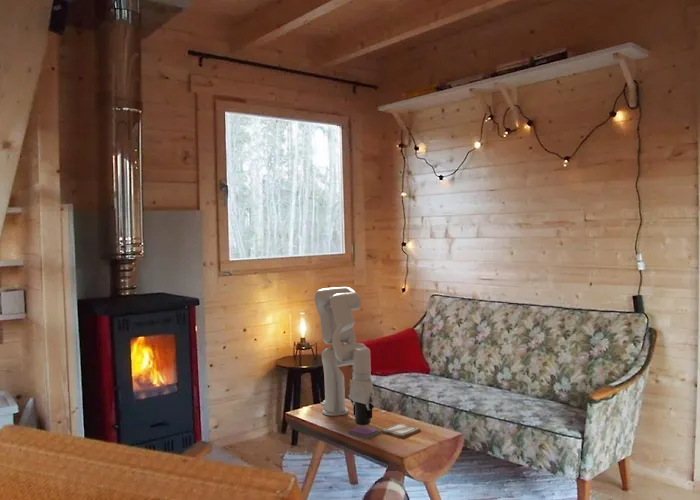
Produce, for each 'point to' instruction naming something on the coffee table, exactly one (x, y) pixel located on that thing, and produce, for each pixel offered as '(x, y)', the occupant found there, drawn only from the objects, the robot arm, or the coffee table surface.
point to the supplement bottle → (361, 414)
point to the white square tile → (400, 430)
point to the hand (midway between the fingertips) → (362, 416)
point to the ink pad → (364, 432)
